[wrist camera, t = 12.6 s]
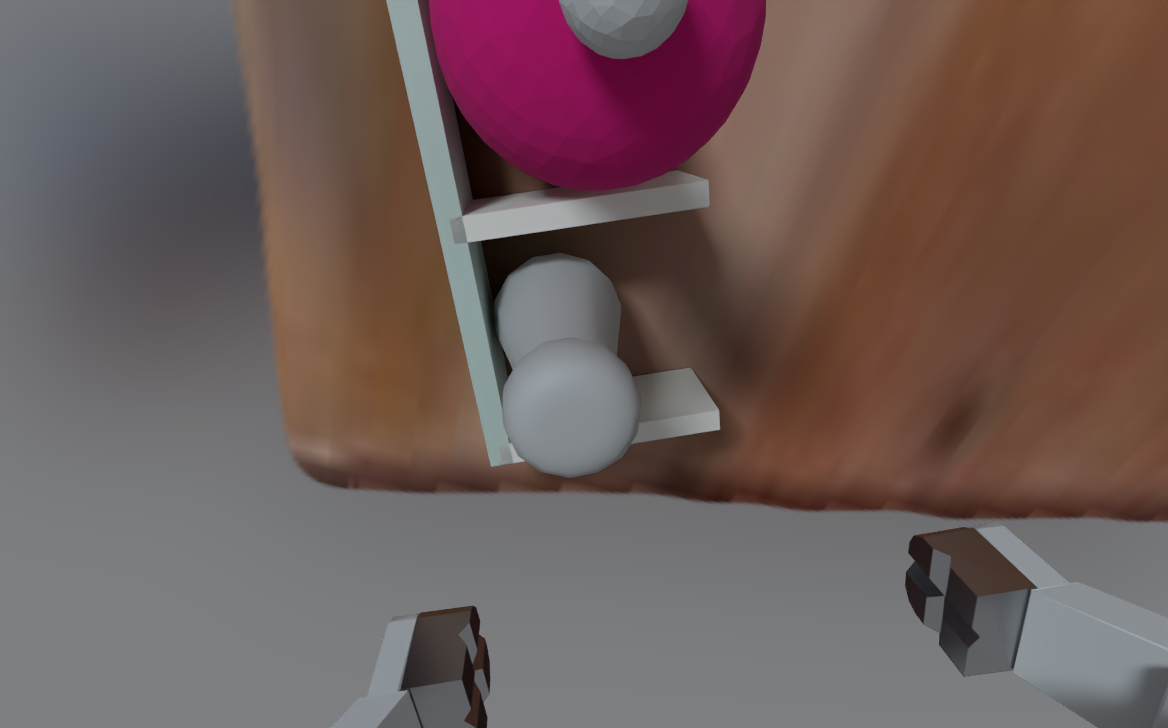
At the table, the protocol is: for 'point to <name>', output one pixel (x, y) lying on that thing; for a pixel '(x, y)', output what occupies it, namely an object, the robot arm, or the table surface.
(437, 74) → the condiment rack
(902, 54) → the table surface
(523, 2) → the pepper mill
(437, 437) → the table surface
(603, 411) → the salt shaker
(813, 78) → the table surface
